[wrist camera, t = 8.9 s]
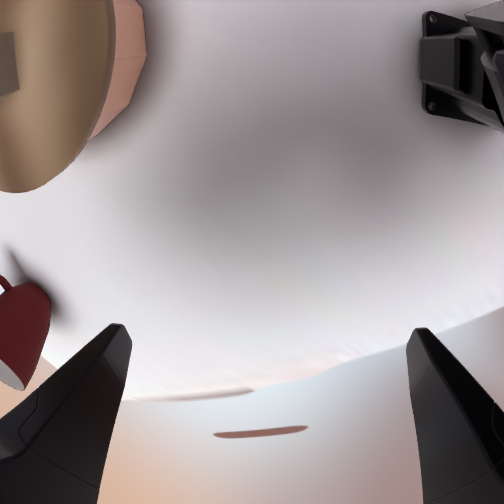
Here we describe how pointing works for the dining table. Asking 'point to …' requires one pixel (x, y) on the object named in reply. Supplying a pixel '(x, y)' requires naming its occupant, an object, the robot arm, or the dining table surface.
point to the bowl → (124, 60)
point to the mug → (22, 331)
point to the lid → (51, 84)
